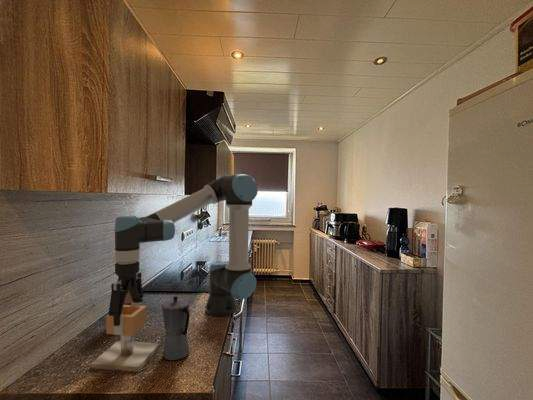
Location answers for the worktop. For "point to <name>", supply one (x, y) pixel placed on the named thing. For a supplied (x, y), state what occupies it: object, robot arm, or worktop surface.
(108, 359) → the post stand
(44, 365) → the worktop surface
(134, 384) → the worktop surface
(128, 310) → the open wooden box
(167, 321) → the moka pot
